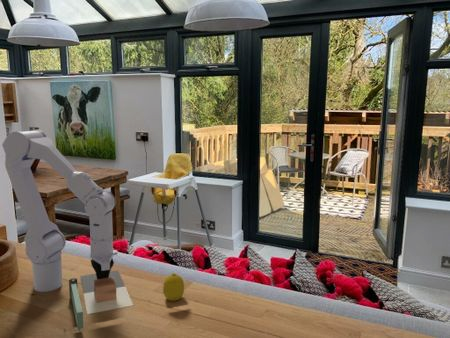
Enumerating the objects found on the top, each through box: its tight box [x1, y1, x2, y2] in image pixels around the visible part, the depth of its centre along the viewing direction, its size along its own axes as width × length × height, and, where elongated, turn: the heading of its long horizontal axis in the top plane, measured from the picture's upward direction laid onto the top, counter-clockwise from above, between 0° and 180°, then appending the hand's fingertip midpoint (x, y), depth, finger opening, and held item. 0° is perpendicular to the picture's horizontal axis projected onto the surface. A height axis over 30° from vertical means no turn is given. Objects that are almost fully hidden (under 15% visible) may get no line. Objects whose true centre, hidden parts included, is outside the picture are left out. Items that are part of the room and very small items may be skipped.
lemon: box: [162, 272, 185, 302], centre depth 99 cm, size 6×6×8 cm
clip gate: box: [71, 284, 84, 330], centre depth 90 cm, size 1×15×4 cm, turn 26°
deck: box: [79, 270, 134, 315], centre depth 103 cm, size 22×11×1 cm, turn 25°
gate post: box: [68, 277, 78, 301], centre depth 98 cm, size 2×2×6 cm
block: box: [94, 277, 117, 303], centre depth 99 cm, size 5×5×4 cm
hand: (102, 285), depth 103 cm, fingers closed
